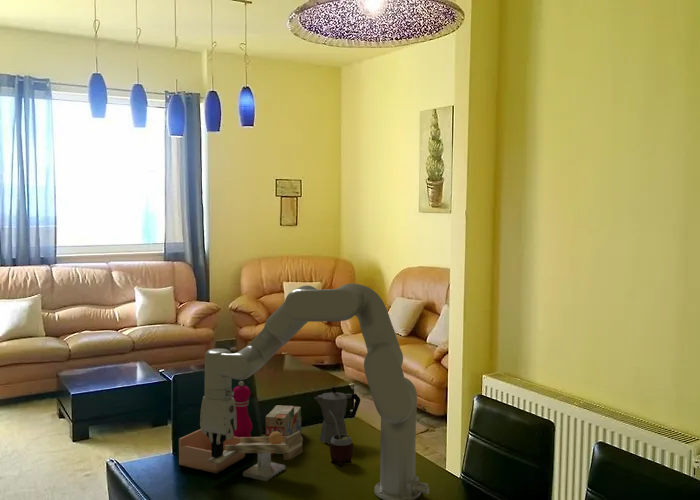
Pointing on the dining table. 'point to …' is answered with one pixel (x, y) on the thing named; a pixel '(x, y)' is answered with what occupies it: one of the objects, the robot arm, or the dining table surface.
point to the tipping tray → (263, 447)
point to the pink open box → (204, 452)
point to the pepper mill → (242, 411)
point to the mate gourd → (340, 447)
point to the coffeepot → (335, 412)
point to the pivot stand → (264, 468)
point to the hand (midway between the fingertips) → (217, 455)
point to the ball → (275, 438)
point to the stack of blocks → (283, 421)
